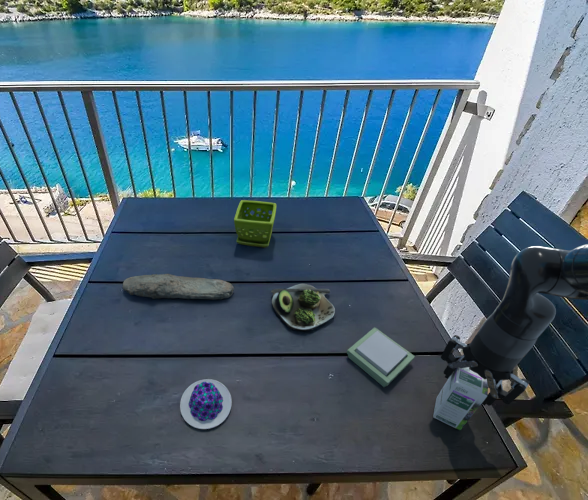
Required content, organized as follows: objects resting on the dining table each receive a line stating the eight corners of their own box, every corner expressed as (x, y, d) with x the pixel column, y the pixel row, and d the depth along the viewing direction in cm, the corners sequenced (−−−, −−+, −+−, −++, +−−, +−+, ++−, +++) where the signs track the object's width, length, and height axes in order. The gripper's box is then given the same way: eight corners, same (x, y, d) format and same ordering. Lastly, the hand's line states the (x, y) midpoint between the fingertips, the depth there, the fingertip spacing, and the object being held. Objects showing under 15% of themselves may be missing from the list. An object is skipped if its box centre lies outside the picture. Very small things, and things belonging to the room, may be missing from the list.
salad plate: (313, 278, 115) (315, 267, 112) (349, 315, 103) (352, 304, 100) (262, 297, 108) (263, 286, 106) (294, 339, 96) (296, 328, 93)
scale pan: (406, 356, 89) (408, 353, 88) (385, 376, 84) (387, 372, 83) (375, 334, 94) (377, 330, 93) (355, 351, 90) (356, 348, 89)
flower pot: (240, 226, 138) (240, 198, 131) (275, 230, 136) (277, 202, 128) (233, 248, 128) (232, 219, 120) (270, 252, 126) (273, 223, 118)
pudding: (239, 419, 79) (239, 407, 76) (187, 438, 75) (185, 427, 72) (222, 374, 88) (221, 362, 84) (175, 390, 84) (172, 378, 81)
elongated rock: (232, 308, 106) (234, 286, 114) (233, 295, 103) (234, 274, 111) (118, 299, 107) (128, 278, 115) (115, 286, 104) (126, 266, 112)
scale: (411, 363, 90) (415, 356, 88) (384, 389, 84) (388, 383, 83) (372, 333, 97) (374, 327, 96) (345, 356, 92) (347, 349, 90)
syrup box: (432, 417, 79) (455, 382, 70) (435, 396, 83) (458, 361, 74) (460, 431, 77) (488, 396, 68) (462, 409, 81) (489, 373, 72)
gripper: (453, 325, 65) (423, 374, 76) (541, 380, 57) (494, 427, 67) (471, 306, 69) (441, 356, 79) (557, 355, 60) (510, 403, 71)
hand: (465, 388), depth 73 cm, fingers closed on syrup box, 7 cm apart
